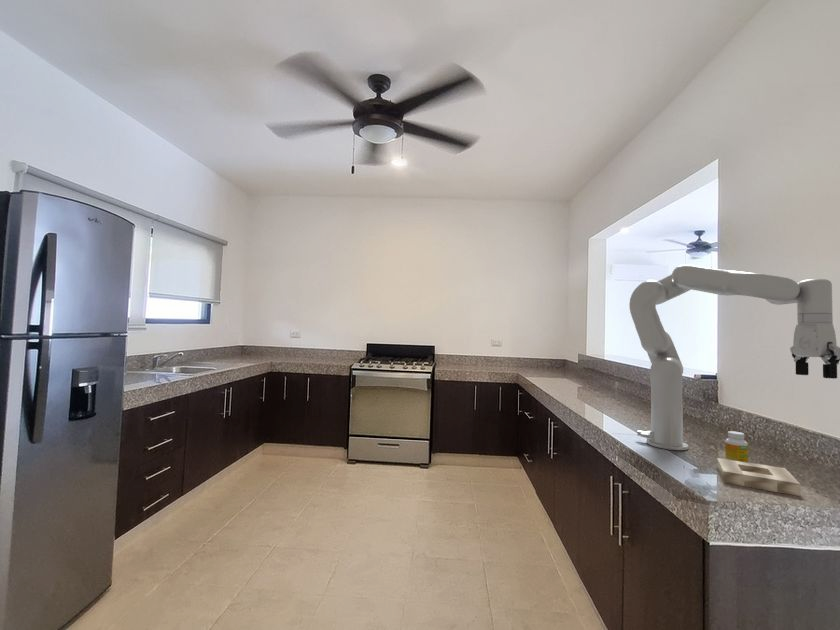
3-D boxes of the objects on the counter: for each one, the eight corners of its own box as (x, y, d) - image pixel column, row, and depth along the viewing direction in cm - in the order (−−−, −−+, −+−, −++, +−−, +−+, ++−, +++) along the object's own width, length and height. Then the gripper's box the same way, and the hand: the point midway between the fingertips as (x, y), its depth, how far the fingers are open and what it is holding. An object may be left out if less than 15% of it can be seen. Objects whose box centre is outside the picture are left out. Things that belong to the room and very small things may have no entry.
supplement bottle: (741, 468, 115) (741, 435, 116) (721, 463, 120) (721, 431, 121) (752, 466, 117) (751, 434, 118) (731, 461, 122) (731, 430, 123)
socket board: (723, 482, 103) (723, 471, 103) (717, 468, 115) (717, 457, 115) (800, 496, 95) (800, 483, 95) (785, 479, 107) (785, 468, 107)
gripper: (778, 320, 127) (779, 373, 126) (825, 318, 110) (827, 379, 109) (804, 321, 126) (805, 374, 125) (856, 319, 109) (857, 380, 108)
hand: (815, 376), depth 117 cm, fingers open, 9 cm apart
